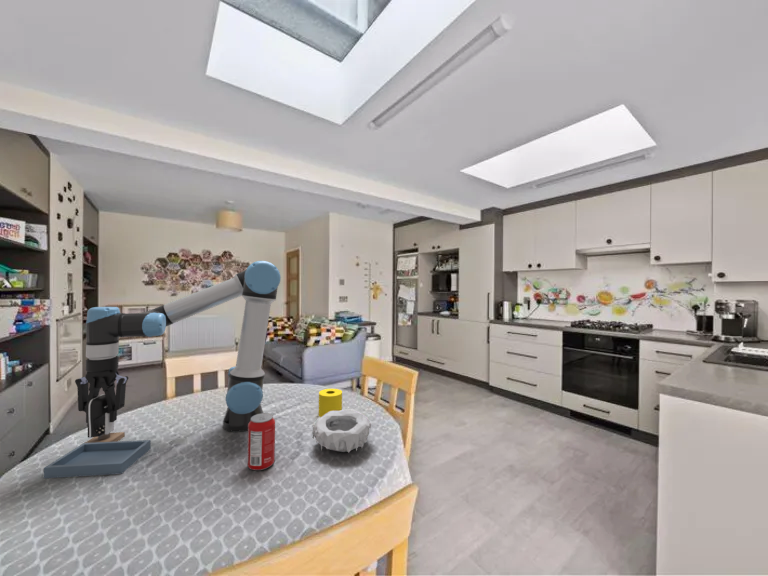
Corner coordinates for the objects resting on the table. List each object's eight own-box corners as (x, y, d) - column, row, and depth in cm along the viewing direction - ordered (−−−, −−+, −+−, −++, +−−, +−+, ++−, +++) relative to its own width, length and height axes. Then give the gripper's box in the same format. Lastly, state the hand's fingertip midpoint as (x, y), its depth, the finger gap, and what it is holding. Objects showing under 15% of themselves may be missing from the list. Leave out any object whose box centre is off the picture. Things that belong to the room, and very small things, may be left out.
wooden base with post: (124, 436, 113) (124, 412, 113) (108, 447, 105) (108, 422, 105) (100, 437, 112) (100, 413, 112) (81, 449, 104) (82, 423, 104)
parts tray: (150, 448, 105) (150, 439, 105) (121, 473, 91) (121, 463, 91) (83, 452, 103) (83, 443, 102) (43, 478, 89) (43, 467, 89)
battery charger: (100, 438, 94) (99, 400, 94) (86, 439, 93) (85, 400, 93) (117, 427, 101) (116, 392, 101) (103, 428, 100) (103, 392, 100)
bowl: (381, 440, 114) (382, 412, 114) (353, 469, 95) (353, 437, 95) (333, 428, 123) (334, 402, 123) (299, 453, 104) (299, 423, 104)
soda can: (248, 475, 92) (249, 424, 91) (246, 461, 99) (247, 414, 98) (276, 468, 95) (277, 419, 95) (272, 456, 102) (273, 410, 102)
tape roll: (346, 412, 138) (346, 391, 138) (331, 420, 129) (331, 398, 129) (329, 407, 143) (329, 387, 143) (313, 415, 135) (313, 393, 135)
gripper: (140, 354, 102) (139, 426, 102) (81, 354, 99) (80, 428, 99) (124, 359, 94) (123, 437, 94) (60, 360, 92) (59, 439, 92)
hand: (101, 432), depth 97 cm, fingers closed on battery charger, 4 cm apart
